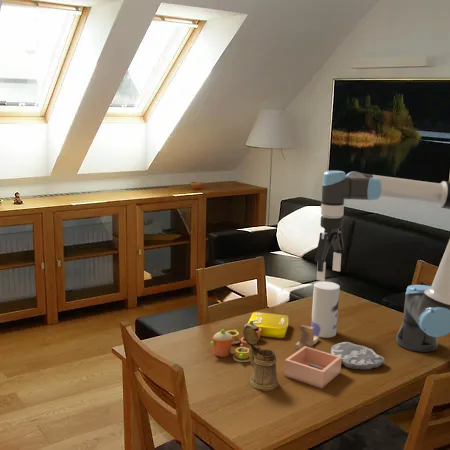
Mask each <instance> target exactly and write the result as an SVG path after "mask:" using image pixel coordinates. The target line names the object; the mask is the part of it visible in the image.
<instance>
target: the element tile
mask: <svg viewBox="0 0 450 450" xmlns="http://www.w3.org/2000/svg"><path fill="white" fill-rule="evenodd" d="M251 320H252V321H253V323H254V324H256V325H257V326H258V327H260V328H261V333H260V337H267V338H278V339H282V338H283V339H284V338H285V337H286V334H287V330H288V327H289V316H288V315H287V314H280V313H278V314H277V313H269V312H259V311H254V312H252V313H251V316H250V318H249V320H248V322H247V323H250V321H251Z"/></svg>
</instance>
